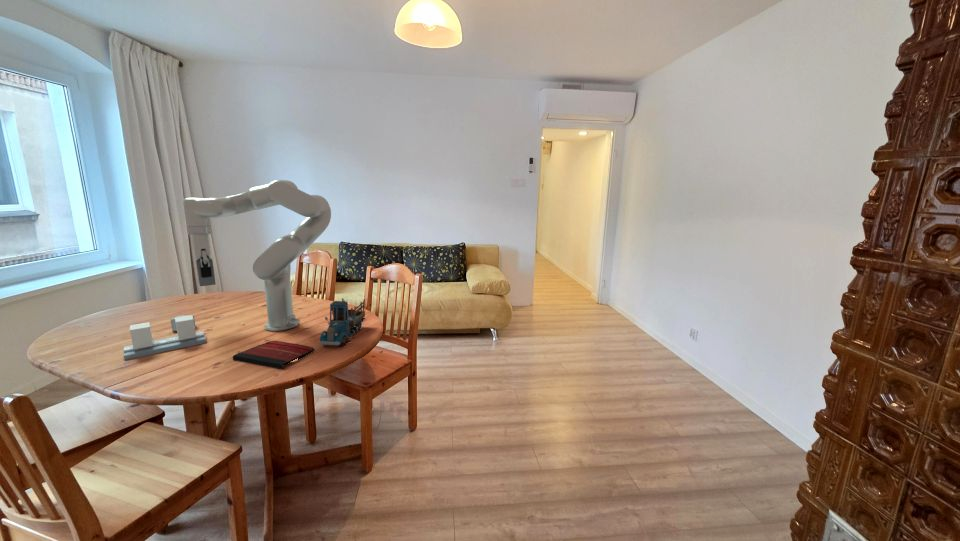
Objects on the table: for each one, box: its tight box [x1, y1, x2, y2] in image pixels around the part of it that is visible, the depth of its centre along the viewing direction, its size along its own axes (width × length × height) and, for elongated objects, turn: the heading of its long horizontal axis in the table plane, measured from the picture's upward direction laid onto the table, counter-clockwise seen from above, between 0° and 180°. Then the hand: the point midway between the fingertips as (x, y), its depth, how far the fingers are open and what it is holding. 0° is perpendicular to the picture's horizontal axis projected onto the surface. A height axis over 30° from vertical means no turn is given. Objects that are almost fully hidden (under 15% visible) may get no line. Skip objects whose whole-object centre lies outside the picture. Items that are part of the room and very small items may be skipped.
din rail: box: [123, 331, 205, 354], centre depth 131 cm, size 22×4×1 cm, turn 133°
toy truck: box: [319, 297, 366, 348], centre depth 142 cm, size 11×25×15 cm, turn 177°
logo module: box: [194, 258, 217, 287], centre depth 144 cm, size 5×6×10 cm
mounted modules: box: [129, 314, 197, 349], centre depth 130 cm, size 17×6×7 cm, turn 133°
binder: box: [232, 340, 316, 370], centre depth 127 cm, size 16×2×21 cm
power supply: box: [169, 314, 197, 332], centre depth 148 cm, size 6×4×5 cm
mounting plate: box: [123, 330, 207, 361], centre depth 132 cm, size 22×10×2 cm, turn 133°
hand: (205, 275), depth 144 cm, fingers closed on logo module, 6 cm apart
